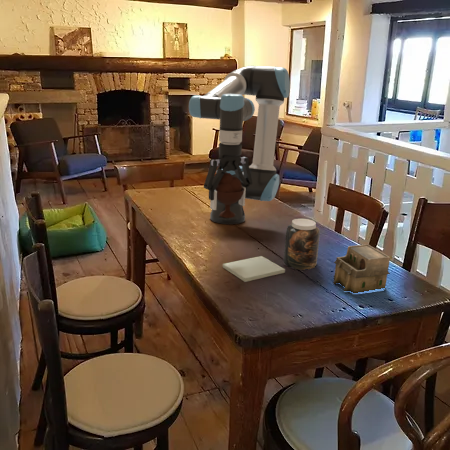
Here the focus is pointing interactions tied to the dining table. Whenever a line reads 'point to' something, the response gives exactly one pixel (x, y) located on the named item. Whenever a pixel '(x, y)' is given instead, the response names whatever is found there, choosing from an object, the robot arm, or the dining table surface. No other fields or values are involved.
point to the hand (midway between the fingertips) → (227, 206)
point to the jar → (301, 244)
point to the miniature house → (362, 269)
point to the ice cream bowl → (229, 193)
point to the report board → (253, 268)
